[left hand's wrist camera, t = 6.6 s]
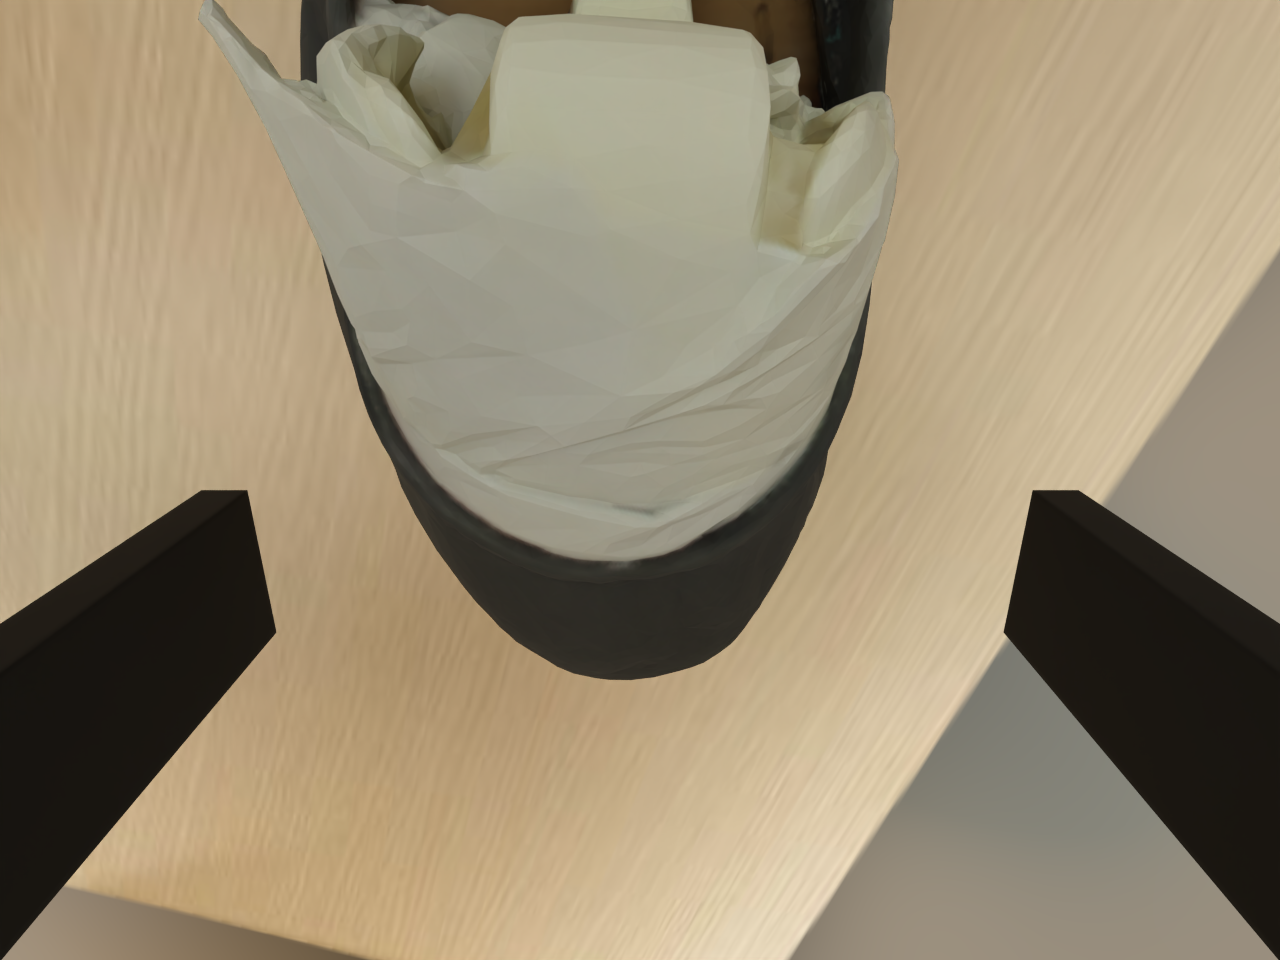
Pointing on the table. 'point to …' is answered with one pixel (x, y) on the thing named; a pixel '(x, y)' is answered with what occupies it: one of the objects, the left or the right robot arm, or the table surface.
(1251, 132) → the table surface
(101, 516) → the table surface
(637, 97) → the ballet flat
